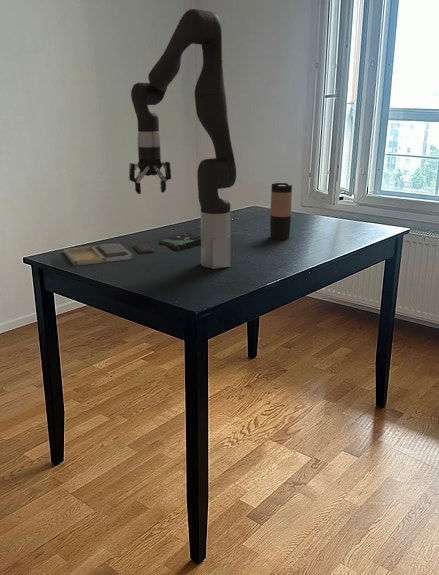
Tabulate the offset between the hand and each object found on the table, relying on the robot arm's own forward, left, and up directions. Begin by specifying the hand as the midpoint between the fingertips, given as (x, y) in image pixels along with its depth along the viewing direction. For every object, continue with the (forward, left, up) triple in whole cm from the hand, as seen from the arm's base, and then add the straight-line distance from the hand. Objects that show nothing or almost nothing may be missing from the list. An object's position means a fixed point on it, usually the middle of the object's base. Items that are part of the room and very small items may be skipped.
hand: (151, 192), depth 202 cm
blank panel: (-9, +17, -18) cm, 26 cm away
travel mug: (-8, -48, -19) cm, 52 cm away
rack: (-9, +22, -19) cm, 30 cm away
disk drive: (-3, -11, -20) cm, 22 cm away
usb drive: (-7, +6, -20) cm, 22 cm away
